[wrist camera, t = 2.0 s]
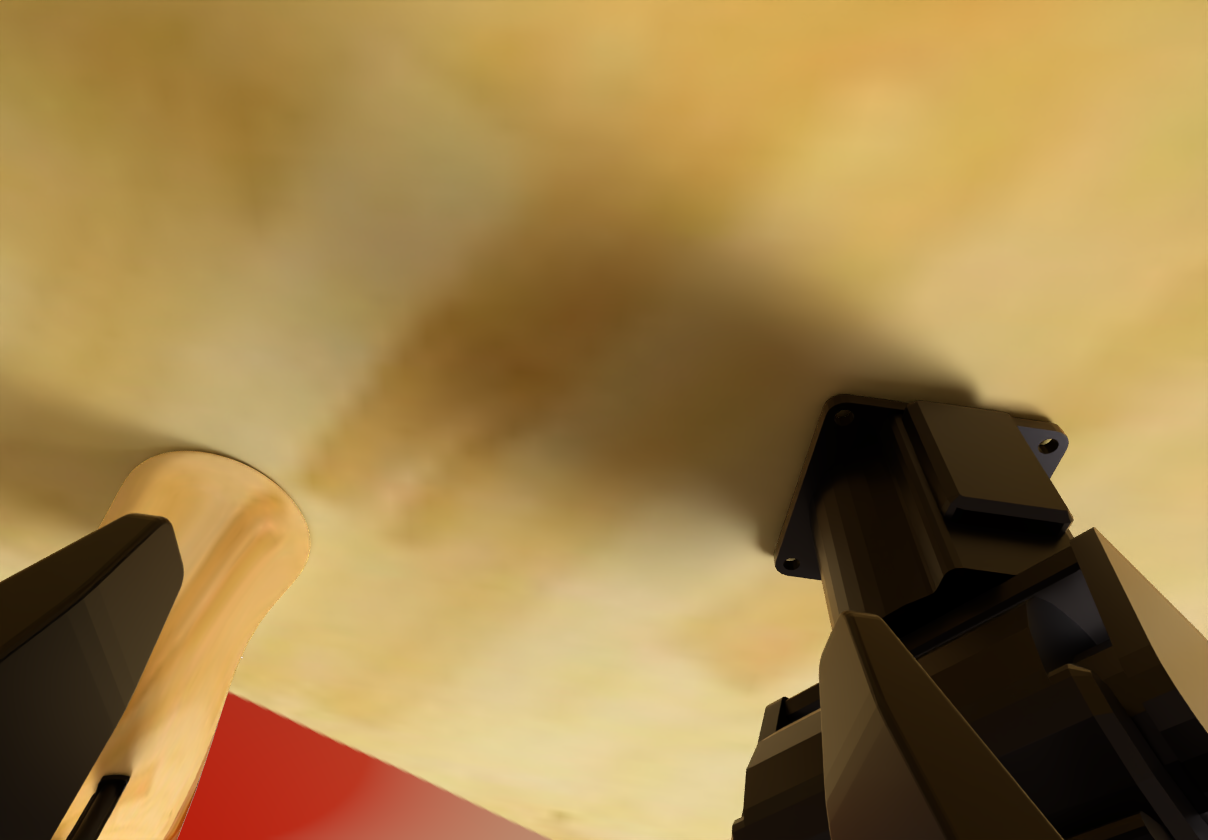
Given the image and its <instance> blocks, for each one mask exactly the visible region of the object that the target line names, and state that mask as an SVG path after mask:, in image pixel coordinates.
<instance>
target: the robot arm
mask: <svg viewBox="0 0 1208 840" xmlns="http://www.w3.org/2000/svg"><path fill="white" fill-rule="evenodd" d="M841 410H849V411H851V412H850V413H849V414H848V415H847V416H845V417H837V416H835V415H836V414H837V413H838V412H840V411H841ZM1046 439H1052V440H1051V441H1050V442H1049V443H1047V444H1045V445H1039V444H1040V443H1041V442H1042V441H1044V440H1046ZM1068 444H1069V442H1068V438H1067V436H1066V435H1065V433H1064V432H1063V430H1062V429H1061V428H1060V427H1059V426H1058V425H1056V424H1053V423H1050V422H1043V421H1036V420H1028V419H1021V418H1014V417H1011V416H1010V415H1009V414H1008V413H1006V412H1000V411H992V410H985V409H978V408H971V407H964V406H957V405H950V404H942V403H935V402H928V401H921V400H918V401H914V402H911V403H907V402H900V401H893V400H886V399H878V398H871V397H864V396H857V395H850V394H839V395H836V396H833V397H832V398H830V399H829V400H828V401H827V402H826V403H825V405H824V407H823V409H822V412H821V415H820V418H819V421H818V424H817V427H816V430H815V433H814V436H813V439H812V442H811V445H810V448H809V451H808V454H807V457H806V460H805V463H804V466H803V469H802V472H801V475H800V478H799V481H798V483H797V486H796V489H795V492H794V495H793V498H792V501H791V504H790V507H789V510H788V513H787V516H786V519H785V522H784V525H783V528H782V531H781V534H780V537H779V540H778V543H777V546H776V549H775V552H774V561H775V567H776V569H777V571H779V572H780V573H781V574H784V575H787V576H794V577H801V578H808V579H816V580H822V584H823V589H824V594H825V598H826V603H827V608H828V613H829V618H830V622H831V627H832V632H831V634H830V636H829V639H828V641H827V643H826V646H825V648H824V650H823V653H822V655H821V659H820V665H819V683H817V684H815V685H813V686H812V687H810V688H808V689H806V690H804V691H802V692H801V693H799V694H797V695H795V696H793V697H791V698H787V697H782V698H781V699H779V700H777V701H775V702H773V703H771V704H770V705H768V706H767V707H766V709H765V713H764V718H763V722H762V727H761V731H760V736H759V740H758V745H757V747H756V749H755V752H754V754H753V756H752V758H751V760H750V763H749V765H748V767H747V769H746V780H745V794H744V807H743V813H742V817H741V818H739V819H737V820H735V821H734V823H733V825H732V838H731V840H1208V641H1207V639H1206V638H1205V637H1204V636H1203V635H1202V634H1201V633H1200V632H1199V631H1198V630H1197V629H1196V628H1195V627H1194V626H1193V625H1192V624H1191V623H1190V622H1189V621H1188V620H1187V619H1186V618H1185V617H1184V616H1183V615H1182V614H1181V613H1180V612H1179V611H1178V610H1177V609H1176V608H1175V607H1174V606H1173V605H1172V604H1171V603H1170V602H1169V601H1168V600H1167V599H1166V598H1165V597H1164V596H1163V595H1162V594H1161V593H1160V592H1159V591H1158V590H1157V589H1156V588H1155V587H1154V586H1153V585H1152V584H1151V583H1150V582H1149V581H1148V580H1147V579H1146V578H1145V577H1144V576H1143V575H1142V574H1141V573H1140V572H1139V571H1138V570H1137V569H1136V568H1135V567H1134V566H1133V565H1132V564H1131V563H1130V562H1129V561H1128V560H1127V559H1126V558H1125V557H1124V556H1123V555H1122V554H1121V553H1120V552H1119V551H1118V550H1117V549H1116V548H1115V547H1114V546H1113V545H1112V544H1111V543H1110V542H1109V541H1108V540H1107V539H1106V538H1105V537H1104V536H1103V535H1102V534H1101V533H1100V532H1099V531H1098V530H1097V529H1096V528H1095V527H1093V528H1091V529H1089V530H1087V531H1086V532H1084V533H1082V534H1080V535H1078V536H1077V537H1075V538H1074V537H1073V535H1072V534H1071V532H1070V531H1069V527H1070V525H1071V524H1072V522H1073V521H1074V520H1073V516H1072V514H1071V513H1070V511H1069V509H1068V508H1067V506H1066V504H1065V503H1064V501H1063V500H1062V498H1061V496H1060V495H1059V493H1058V492H1057V490H1056V488H1055V487H1054V485H1053V484H1052V482H1051V480H1050V478H1051V476H1052V474H1053V472H1054V471H1055V469H1056V467H1057V465H1058V464H1059V462H1060V460H1061V458H1062V457H1063V455H1064V453H1065V451H1066V450H1067V447H1068ZM789 558H795V560H793V561H787V559H789ZM183 577H184V566H183V562H182V558H181V554H180V551H179V547H178V543H177V540H176V536H175V532H174V528H173V526H172V523H171V522H170V521H169V520H168V519H167V518H165V517H163V516H155V515H148V514H141V513H130V514H127V515H124V516H122V517H120V518H118V519H116V520H114V521H113V522H111V523H109V524H107V525H105V526H103V527H101V528H100V529H98V530H96V531H94V532H92V533H90V534H88V535H87V536H85V537H83V538H81V539H79V540H77V541H75V542H74V543H72V544H70V545H68V546H66V547H64V548H62V549H61V550H59V551H57V552H55V553H53V554H51V555H49V556H48V557H46V558H44V559H42V560H40V561H38V562H37V563H35V564H33V565H31V566H29V567H27V568H25V569H24V570H22V571H20V572H18V573H16V574H14V575H12V576H11V577H9V578H7V579H5V580H3V581H1V582H0V840H51V839H52V837H53V835H54V833H55V832H56V830H57V828H58V827H59V825H60V823H61V821H62V820H63V818H64V816H65V815H66V813H67V811H68V809H69V808H70V806H71V804H72V802H73V801H74V799H75V797H76V796H77V794H78V792H79V790H80V789H81V787H82V785H83V784H84V782H85V780H86V778H87V777H88V775H89V773H90V771H91V770H92V768H93V766H94V765H95V763H96V761H97V759H98V758H99V756H100V754H101V753H102V751H103V749H104V747H105V746H106V744H107V742H108V741H109V739H110V737H111V735H112V734H113V732H114V730H115V728H116V727H117V725H118V723H119V721H120V719H121V718H122V716H123V714H124V712H125V710H126V708H127V706H128V704H129V702H130V700H131V698H132V696H133V694H134V692H135V690H136V688H137V685H138V683H139V681H140V679H141V676H142V674H143V672H144V670H145V667H146V665H147V663H148V661H149V658H150V656H151V654H152V652H153V649H154V647H155V645H156V643H157V640H158V638H159V636H160V634H161V632H162V629H163V627H164V625H165V623H166V620H167V618H168V616H169V614H170V611H171V609H172V607H173V605H174V602H175V600H176V598H177V596H178V593H179V591H180V589H181V586H182V582H183Z"/></svg>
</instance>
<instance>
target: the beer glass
mask: <svg viewBox="0 0 1208 840" xmlns="http://www.w3.org/2000/svg"><path fill="white" fill-rule="evenodd" d="M130 513H141V514H148V515H155V516H163V517H165V518H167V519H168V520H169V521H170V522H171V523H172V526H173V528H174V532H175V536H176V540H177V543H178V547H179V551H180V554H181V558H182V562H183V566H184V577H183V582H182V586H181V589H180V591H179V593H178V596H177V598H176V600H175V602H174V605H173V607H172V609H171V611H170V614H169V616H168V618H167V620H166V623H165V625H164V627H163V629H162V632H161V634H160V636H159V638H158V640H157V643H156V645H155V647H154V649H153V652H152V654H151V656H150V658H149V661H148V663H147V665H146V667H145V670H144V672H143V674H142V676H141V679H140V681H139V683H138V685H137V688H136V690H135V692H134V694H133V696H132V698H131V700H130V702H129V704H128V706H127V708H126V710H125V712H124V714H123V716H122V718H121V719H120V721H119V723H118V725H117V727H116V728H115V730H114V732H113V734H112V735H111V737H110V739H109V741H108V742H107V744H106V746H105V747H104V749H103V751H102V753H101V754H100V756H99V758H98V759H97V761H96V763H95V765H94V766H93V768H92V770H91V771H90V773H89V775H88V777H87V778H86V780H85V782H84V784H83V785H82V787H81V789H80V790H79V792H78V794H77V796H76V797H75V799H74V801H73V802H72V804H71V806H70V808H69V809H68V811H67V813H66V815H65V816H64V818H63V820H62V821H61V823H60V825H59V827H58V828H57V830H56V832H55V833H54V835H53V837H52V839H51V840H177V838H178V836H179V833H180V831H181V828H182V825H183V823H184V820H185V817H186V815H187V812H188V810H189V807H190V805H191V802H192V799H193V797H194V794H195V791H196V788H197V785H198V782H199V779H200V776H201V773H202V770H203V767H204V764H205V761H206V758H207V755H208V752H209V749H210V746H211V743H212V740H213V737H214V734H215V731H216V727H217V724H218V721H219V718H220V715H221V712H222V709H223V706H224V702H225V699H226V696H227V694H228V691H229V688H230V685H231V682H232V679H233V677H234V674H235V671H236V668H237V665H238V663H239V661H240V659H241V658H243V657H242V655H243V653H244V651H245V648H246V646H247V644H248V642H249V640H250V639H251V637H252V635H253V634H254V632H255V630H256V629H257V627H258V625H259V624H260V622H261V621H262V620H263V618H264V617H265V616H266V614H267V613H268V611H269V610H270V609H271V608H272V607H273V605H274V604H275V603H276V602H277V601H278V600H279V598H280V597H281V596H282V595H283V594H284V593H285V592H286V590H287V589H288V588H289V587H290V586H291V585H292V584H293V582H294V581H295V580H296V579H297V577H298V576H299V575H300V574H301V572H302V571H303V569H304V567H305V565H306V563H307V561H308V558H309V553H310V534H309V530H308V526H307V524H306V521H305V519H304V517H303V515H302V513H301V512H300V510H299V508H298V507H297V506H296V504H295V503H294V502H293V500H292V499H291V498H290V497H289V496H288V495H287V494H286V493H285V492H284V491H283V490H282V489H281V488H280V487H279V486H278V485H277V484H275V483H274V482H273V481H272V480H270V479H269V478H268V477H266V476H265V475H263V474H262V473H260V472H258V471H257V470H255V469H253V468H251V467H249V466H247V465H245V464H243V463H241V462H238V461H236V460H233V459H230V458H227V457H224V456H220V455H216V454H212V453H206V452H199V451H172V452H167V453H162V454H159V455H156V456H153V457H151V458H149V459H147V460H145V461H144V462H142V463H141V464H139V465H138V466H137V467H136V468H134V469H133V470H132V472H131V473H130V474H129V475H128V477H127V478H126V479H125V481H124V482H123V484H122V486H121V488H120V489H119V491H118V493H117V495H116V497H115V498H114V500H113V502H112V504H111V506H110V508H109V510H108V512H107V513H106V515H105V517H104V519H103V521H102V522H101V524H100V526H99V528H98V529H100V528H101V527H103V526H105V525H107V524H109V523H111V522H113V521H114V520H116V519H118V518H120V517H122V516H124V515H127V514H130ZM98 529H97V530H98Z"/></svg>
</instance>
